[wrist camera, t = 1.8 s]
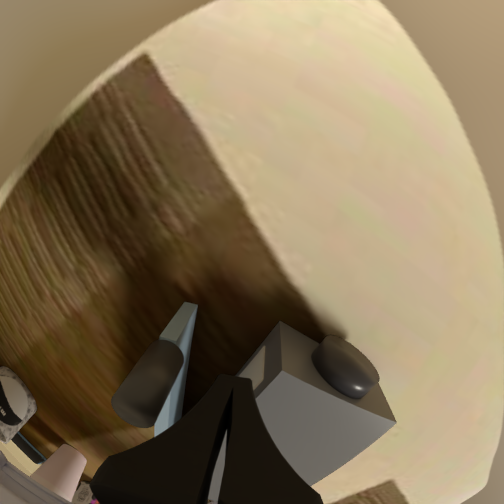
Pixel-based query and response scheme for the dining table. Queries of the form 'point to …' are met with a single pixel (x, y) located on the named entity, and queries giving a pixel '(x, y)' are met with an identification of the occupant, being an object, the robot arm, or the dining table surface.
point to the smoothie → (61, 471)
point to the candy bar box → (84, 494)
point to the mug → (13, 404)
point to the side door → (159, 377)
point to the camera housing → (313, 402)
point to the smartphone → (28, 448)
